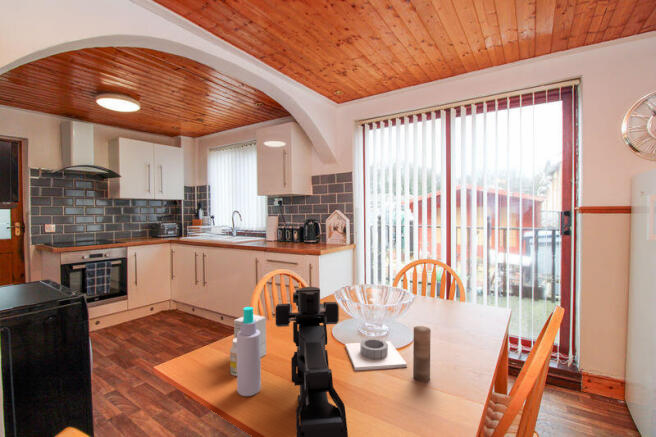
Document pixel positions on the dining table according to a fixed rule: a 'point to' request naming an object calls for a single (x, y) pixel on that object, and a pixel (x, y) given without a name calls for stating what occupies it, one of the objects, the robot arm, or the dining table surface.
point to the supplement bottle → (233, 358)
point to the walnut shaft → (421, 353)
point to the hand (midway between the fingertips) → (305, 305)
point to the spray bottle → (248, 356)
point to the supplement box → (259, 326)
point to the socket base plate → (374, 355)
